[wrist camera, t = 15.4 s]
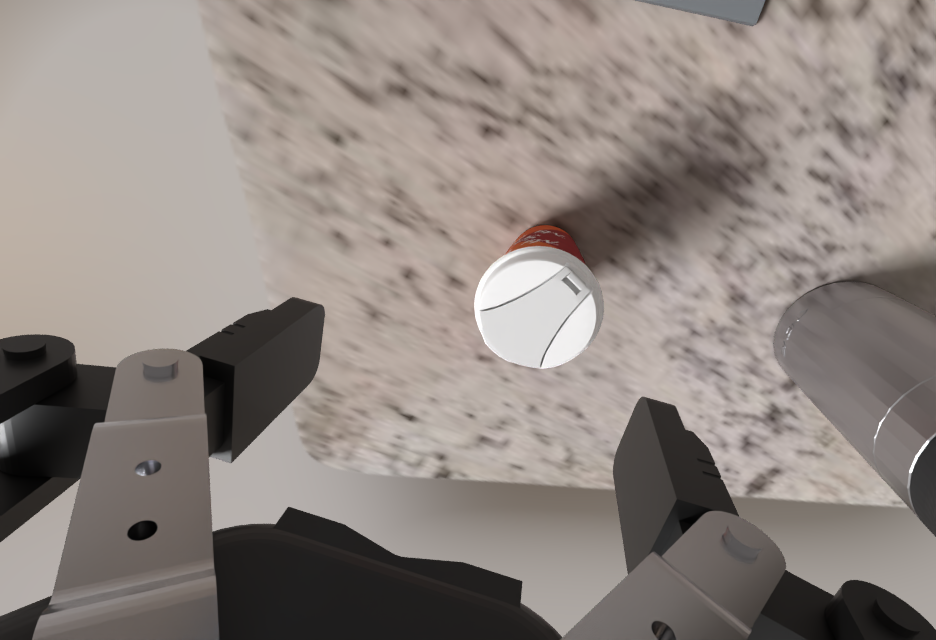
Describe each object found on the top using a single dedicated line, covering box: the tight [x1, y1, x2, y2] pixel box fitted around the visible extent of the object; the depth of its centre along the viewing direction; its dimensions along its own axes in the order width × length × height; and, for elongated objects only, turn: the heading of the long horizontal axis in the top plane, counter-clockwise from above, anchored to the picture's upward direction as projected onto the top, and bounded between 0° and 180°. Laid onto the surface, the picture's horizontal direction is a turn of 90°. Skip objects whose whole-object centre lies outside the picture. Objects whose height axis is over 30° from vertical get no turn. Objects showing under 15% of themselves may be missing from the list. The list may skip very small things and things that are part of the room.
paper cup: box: [474, 225, 604, 369], centre depth 35 cm, size 8×8×14 cm
